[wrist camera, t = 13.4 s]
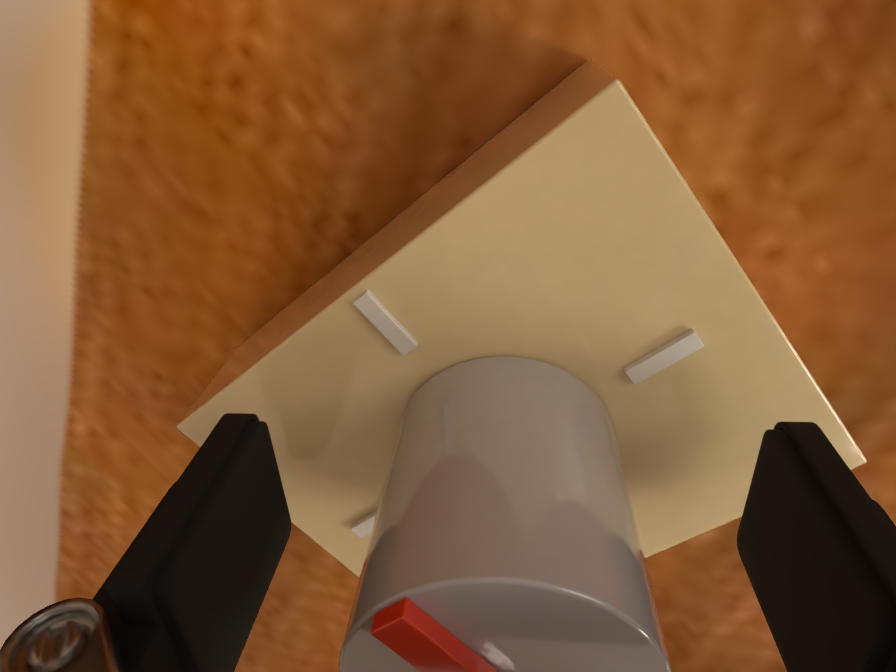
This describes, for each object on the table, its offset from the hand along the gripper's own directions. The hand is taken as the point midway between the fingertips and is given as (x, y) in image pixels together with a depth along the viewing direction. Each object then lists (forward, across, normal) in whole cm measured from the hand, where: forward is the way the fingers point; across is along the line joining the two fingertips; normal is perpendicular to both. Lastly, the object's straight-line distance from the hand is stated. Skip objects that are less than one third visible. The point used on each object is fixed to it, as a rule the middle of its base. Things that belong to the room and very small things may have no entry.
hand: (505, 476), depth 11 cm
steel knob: (+1, 0, 0) cm, 1 cm away
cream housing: (+4, 0, 0) cm, 4 cm away
